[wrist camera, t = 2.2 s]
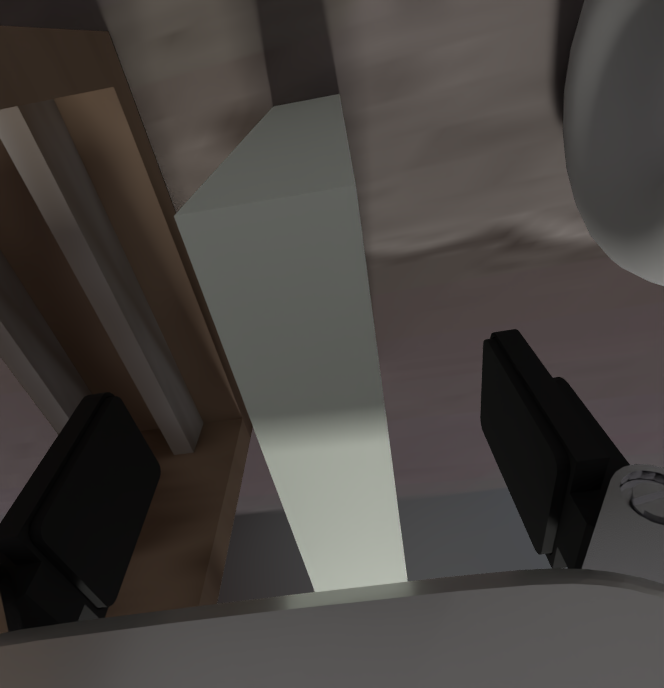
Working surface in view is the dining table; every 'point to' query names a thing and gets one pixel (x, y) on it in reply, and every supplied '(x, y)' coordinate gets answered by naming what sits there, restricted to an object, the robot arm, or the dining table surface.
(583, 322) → the dining table surface
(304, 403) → the door panel
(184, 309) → the frame
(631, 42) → the donut
